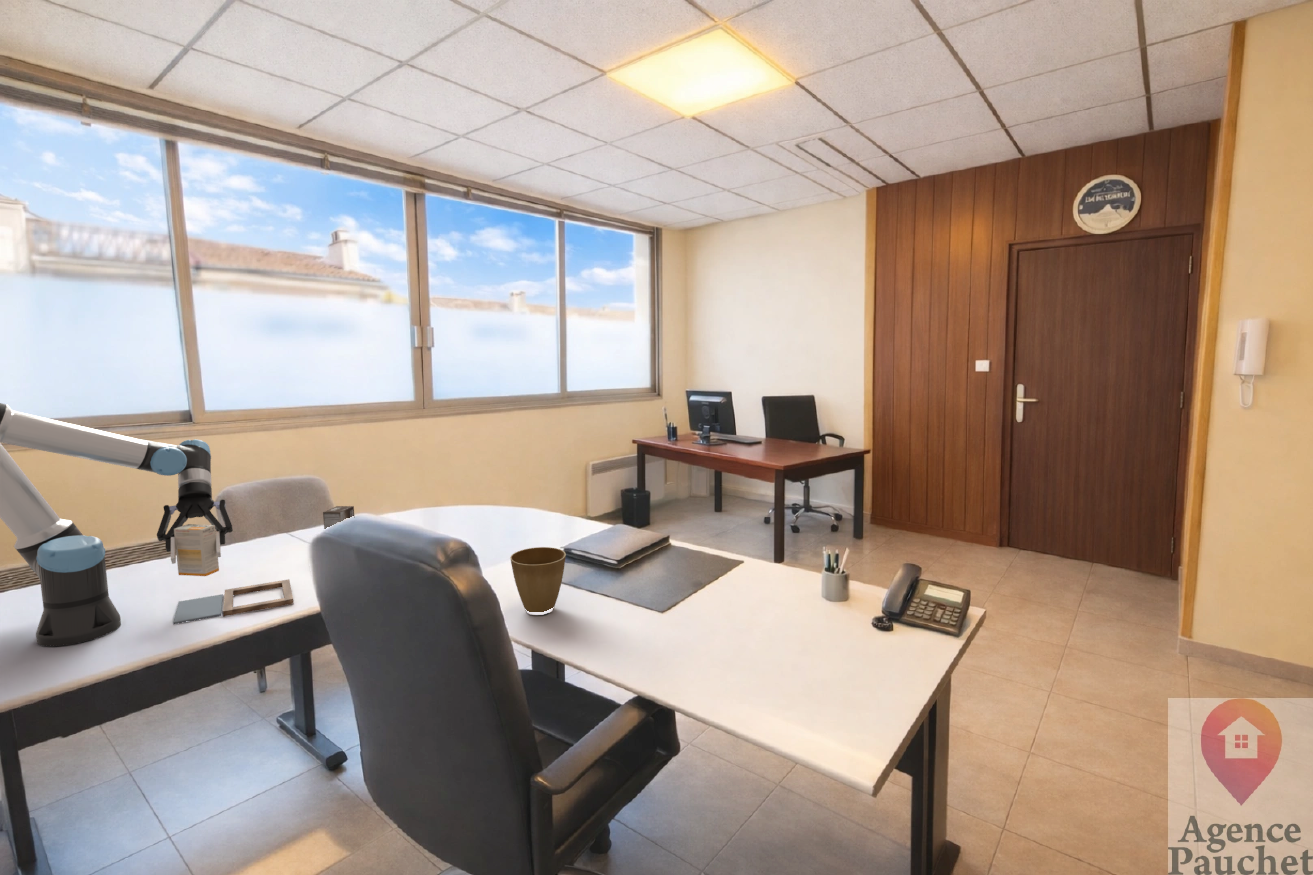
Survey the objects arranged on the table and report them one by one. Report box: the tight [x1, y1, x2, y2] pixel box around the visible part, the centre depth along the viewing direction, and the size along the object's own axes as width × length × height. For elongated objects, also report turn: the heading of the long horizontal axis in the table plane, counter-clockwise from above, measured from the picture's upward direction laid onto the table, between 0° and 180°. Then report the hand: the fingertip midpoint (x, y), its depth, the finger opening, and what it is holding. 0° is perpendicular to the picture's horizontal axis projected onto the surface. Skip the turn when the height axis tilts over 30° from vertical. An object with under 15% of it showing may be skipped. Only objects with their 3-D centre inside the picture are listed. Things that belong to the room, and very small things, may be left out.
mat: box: [172, 593, 224, 625], centre depth 163 cm, size 10×16×1 cm, turn 34°
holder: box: [222, 578, 294, 617], centre depth 171 cm, size 16×18×2 cm
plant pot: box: [509, 546, 567, 612], centre depth 165 cm, size 15×15×16 cm
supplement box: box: [174, 523, 220, 577], centre depth 162 cm, size 8×5×13 cm, turn 84°
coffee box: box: [322, 505, 355, 529], centre depth 212 cm, size 9×6×16 cm
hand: (196, 557), depth 159 cm, fingers closed on supplement box, 9 cm apart
